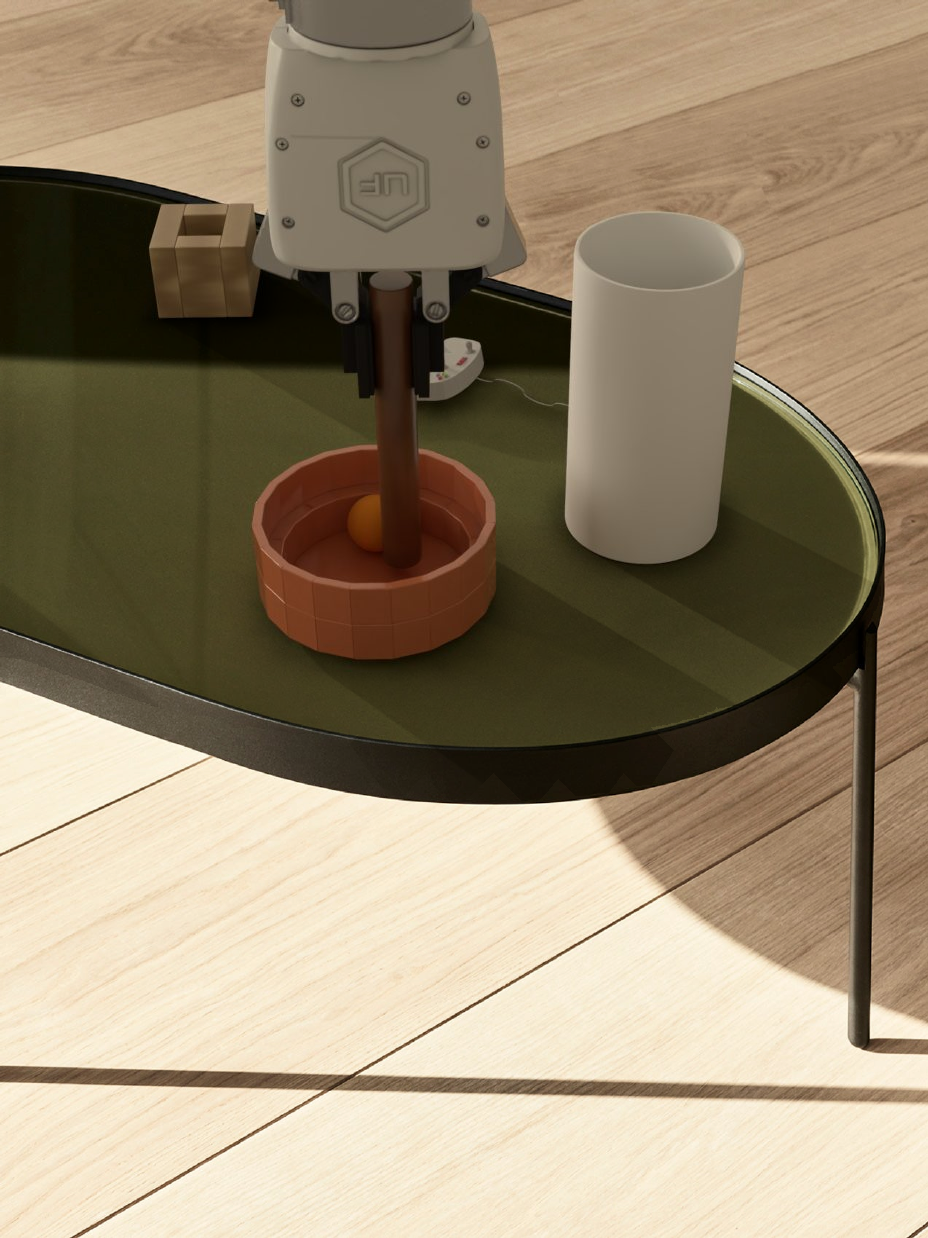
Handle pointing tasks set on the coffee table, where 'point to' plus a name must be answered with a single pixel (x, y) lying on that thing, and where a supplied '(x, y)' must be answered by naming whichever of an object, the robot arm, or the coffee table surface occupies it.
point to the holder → (204, 260)
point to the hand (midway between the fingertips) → (395, 380)
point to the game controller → (459, 370)
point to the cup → (650, 383)
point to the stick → (396, 417)
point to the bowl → (373, 558)
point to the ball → (366, 523)
